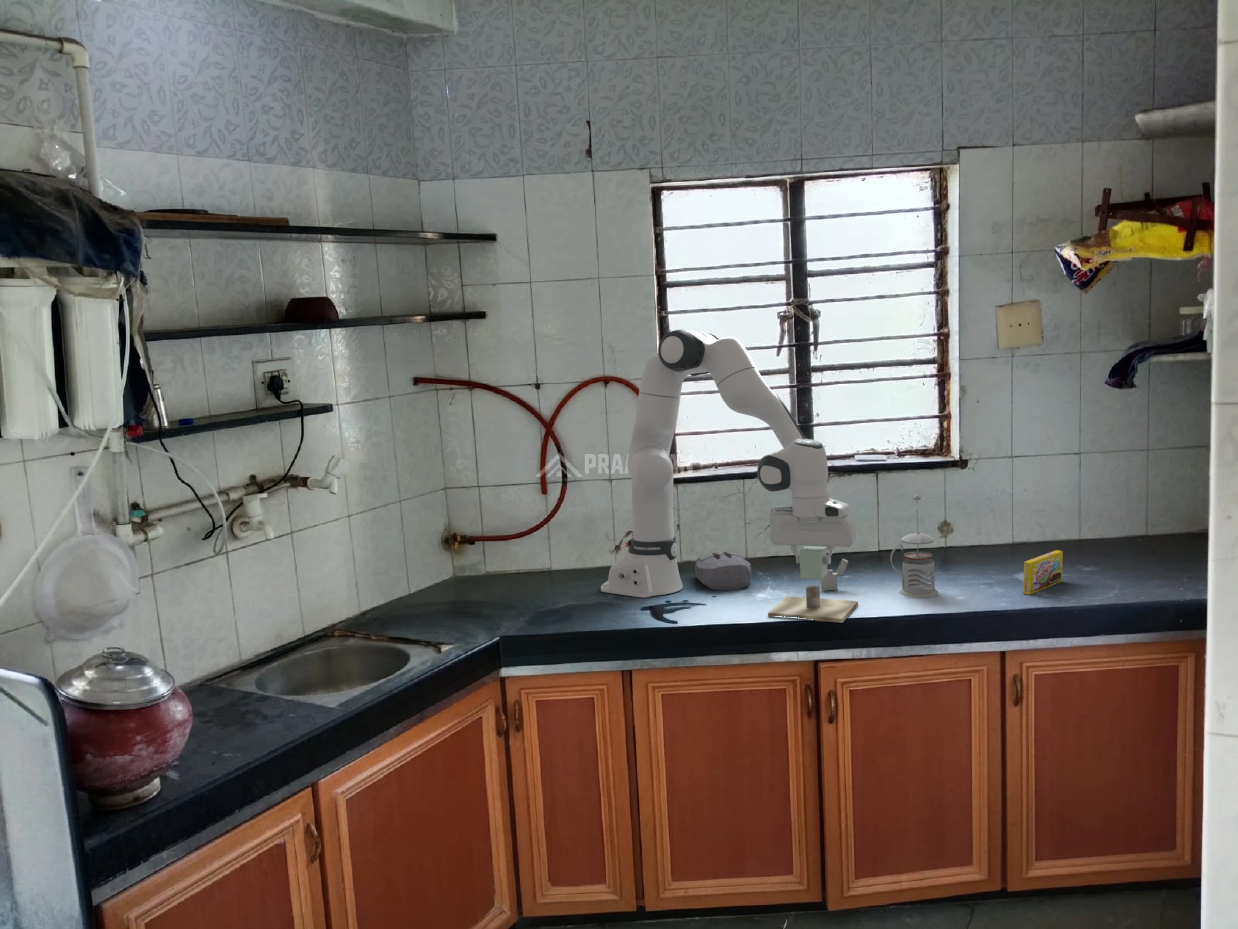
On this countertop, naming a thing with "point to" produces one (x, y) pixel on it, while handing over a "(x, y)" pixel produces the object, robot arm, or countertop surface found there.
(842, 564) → the lighter
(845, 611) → the post stand
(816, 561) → the pale sage rectangular block
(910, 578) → the french press
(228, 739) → the countertop surface
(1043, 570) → the candy box
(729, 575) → the grey rounded bag
